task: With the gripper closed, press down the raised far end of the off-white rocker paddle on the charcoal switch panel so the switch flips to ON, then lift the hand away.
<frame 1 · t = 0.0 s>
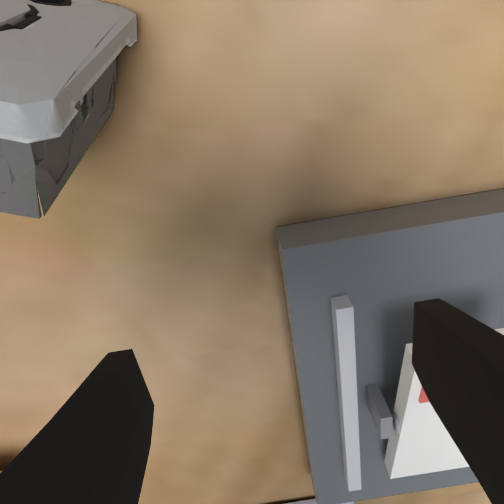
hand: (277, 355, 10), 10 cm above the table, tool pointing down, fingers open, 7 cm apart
electrical switch: (26, 60, 16), on the table
rocker paddle: (445, 416, 20), point 5 cm above the table, hinge at -12.0°
switch panel: (408, 354, 24), on the table
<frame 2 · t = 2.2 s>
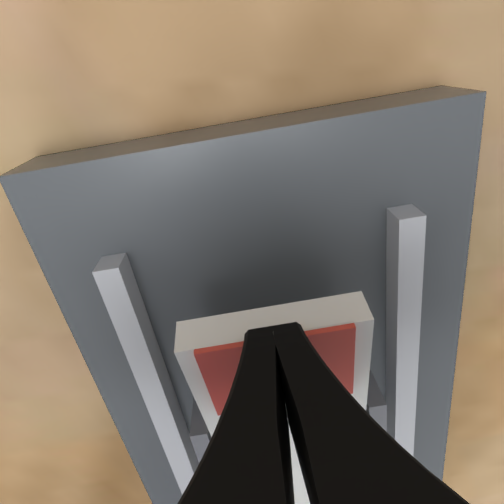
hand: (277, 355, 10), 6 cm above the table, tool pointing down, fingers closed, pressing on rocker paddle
rocker paddle: (289, 433, 14), point 5 cm above the table, hinge at -11.8°, touching gripper
switch panel: (275, 346, 18), on the table
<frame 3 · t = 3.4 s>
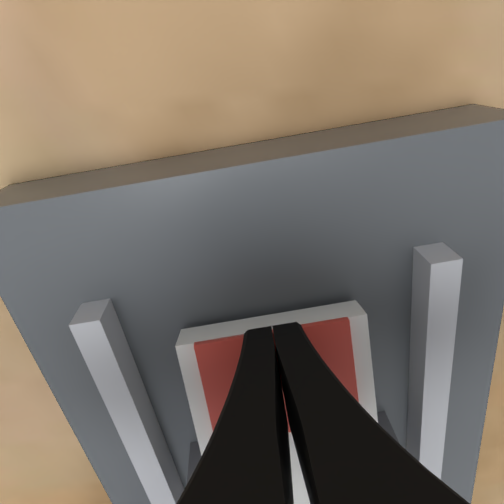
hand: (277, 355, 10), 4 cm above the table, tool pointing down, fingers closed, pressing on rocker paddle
rocker paddle: (299, 501, 12), point 5 cm above the table, hinge at 12.3°, touching gripper
switch panel: (280, 388, 16), on the table
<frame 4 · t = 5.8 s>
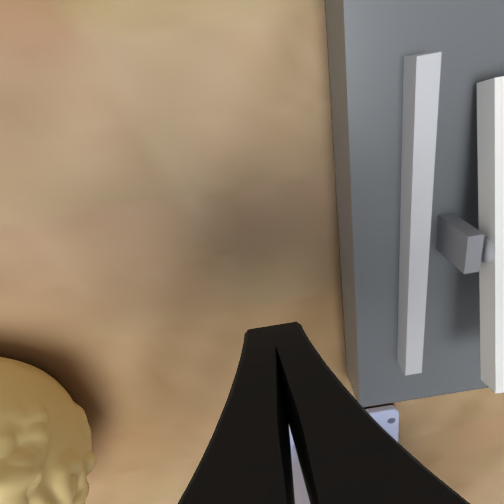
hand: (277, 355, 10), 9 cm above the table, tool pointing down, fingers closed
sculpture: (11, 400, 23), on the table
switch panel: (482, 199, 18), on the table
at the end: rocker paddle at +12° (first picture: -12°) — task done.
